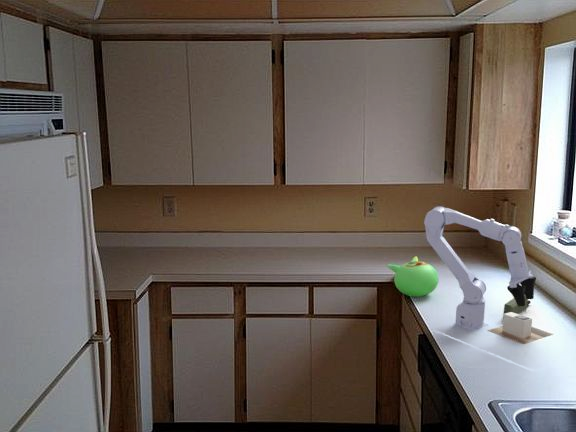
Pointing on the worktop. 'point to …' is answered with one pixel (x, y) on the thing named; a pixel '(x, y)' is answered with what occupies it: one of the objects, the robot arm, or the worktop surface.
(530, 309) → the worktop surface
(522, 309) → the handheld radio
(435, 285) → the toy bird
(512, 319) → the block
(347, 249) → the worktop surface
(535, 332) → the board
